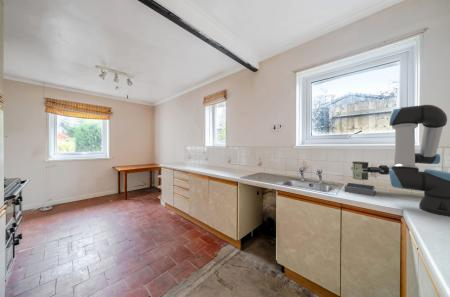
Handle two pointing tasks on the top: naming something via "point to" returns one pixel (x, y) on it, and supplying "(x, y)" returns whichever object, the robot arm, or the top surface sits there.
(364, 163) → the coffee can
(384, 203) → the top surface
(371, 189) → the tray
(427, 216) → the top surface
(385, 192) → the top surface
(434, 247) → the top surface
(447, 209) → the robot arm
